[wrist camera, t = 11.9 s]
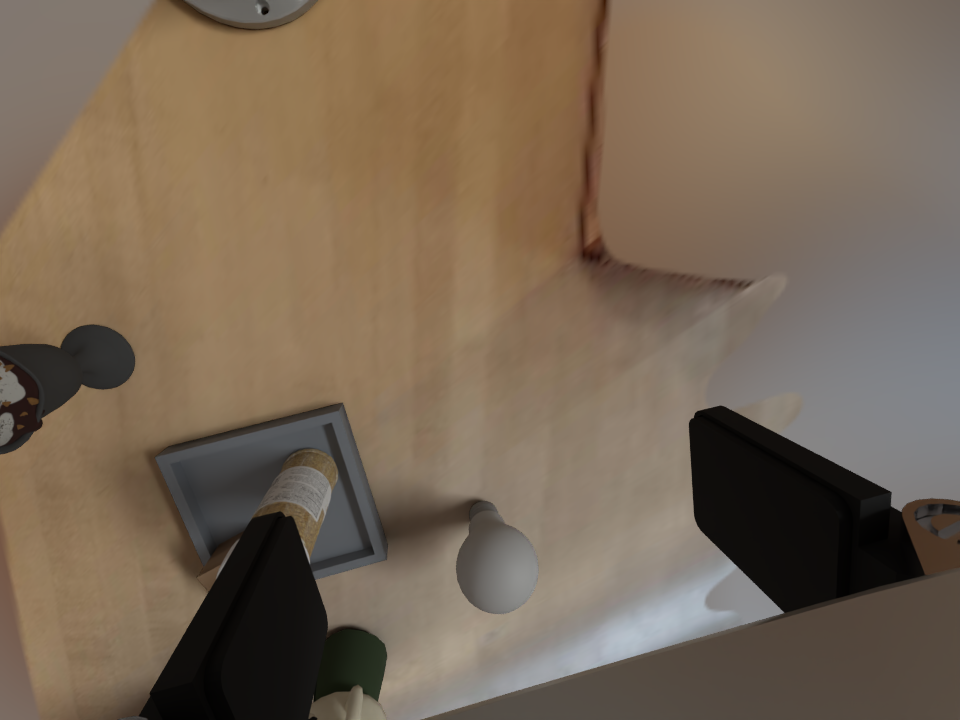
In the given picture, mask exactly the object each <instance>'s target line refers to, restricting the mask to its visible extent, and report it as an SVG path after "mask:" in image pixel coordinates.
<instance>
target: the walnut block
mask: <svg viewBox="0 0 960 720" xmlns="http://www.w3.org/2000/svg"><path fill="white" fill-rule="evenodd" d="M243 532H244V531H243ZM243 532H241V533H239V534H237V535H236V536H234V537H232V538H230V539H228V540H226V541H225V542H223V543H221V544H219V545H218V547H217V548H216V550H215V551H214V553H213V554H212V556H211V557H210V559H209V560H208V562H207V563H206V565H205V566H204V568H203V569H202V571H201V572H200V574H199V575H198V577H197V579H198V580H199V581H200V582H201V584H202V585H203V586H204V587H205V588H206V589H207V590H208V592H209V591H210V589H211V587H212V585H213V584H214V582H215V580H216V576H217V573H218V570H219V568H220V566H221V564H222V562H223V560H224V558H225V557H226V555H227V553H228V552H229V550H230V549H231V547H232V546H233V544H234V543H235V542H236V541H237V540H239V539H240V537H241V536H242V534H243Z"/></svg>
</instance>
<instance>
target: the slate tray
mask: <svg viewBox="0 0 960 720" xmlns="http://www.w3.org/2000/svg"><path fill="white" fill-rule="evenodd" d="M311 448H313V449H318V450H321V451H323V452H325V453H326V454H328V455H329V456H331V457H332V459H333V460H334V462H335V464H336V466H337V469H338V480H337V482H336V485H335V486H334V488H333V490H332V493H331V499H330V503H329V506H328V509H327V512H326V515H325V518H324V521H323V523H322V525H321V527H320V530H319V534H318V536H317V540H316V542H315V545H314V548H313V551H312V554H311V556H310V567H311V569H312V572H313V575H314V578H315V580H316V579H320V578H323V577H327V576H330V575H334V574H338V573H341V572H345V571H348V570H352V569H355V568H359V567H362V566H366V565H369V564H373V563H376V562H380V561H383V560H387V550H388V544H387V540H386V537H385V534H384V531H383V528H382V525H381V521H380V518H379V515H378V512H377V509H376V506H375V503H374V499H373V496H372V493H371V490H370V487H369V484H368V480H367V477H366V474H365V471H364V468H363V465H362V461H361V458H360V455H359V452H358V449H357V446H356V443H355V439H354V436H353V433H352V430H351V427H350V424H349V420H348V417H347V414H346V411H345V408H344V405H343V403H340V404H336V405H332V406H328V407H324V408H320V409H316V410H312V411H308V412H304V413H300V414H296V415H292V416H288V417H284V418H280V419H276V420H272V421H268V422H264V423H260V424H256V425H252V426H248V427H244V428H240V429H236V430H232V431H228V432H224V433H220V434H216V435H212V436H208V437H204V438H200V439H196V440H192V441H188V442H184V443H180V444H176V445H172V446H169V447H167V448H166V449H165V450H164V451H162V452H161V453H160V454H158V455H157V456H156V457H155V459H156V461H157V463H158V466H159V468H160V470H161V472H162V475H163V477H164V479H165V481H166V484H167V486H168V488H169V490H170V492H171V495H172V497H173V499H174V501H175V504H176V506H177V508H178V510H179V513H180V515H181V517H182V519H183V522H184V524H185V526H186V528H187V530H188V533H189V535H190V537H191V539H192V542H193V544H194V546H195V548H196V551H197V553H198V555H199V557H200V559H201V562H202V564H203V566H205V565H206V563H207V562H208V560H209V559H210V557H211V556H212V554H213V553H214V551H215V550H216V548H217V547H218V545H219V544H221V543H223V542H225V541H226V540H228V539H230V538H232V537H234V536H236V535H237V534H239V533H241V532H243V531H245V529H246V527H247V525H248V524H249V522H250V520H251V518H252V516H253V514H254V513H255V511H256V510H257V508H258V506H259V505H260V503H261V501H262V500H263V498H264V496H265V495H266V493H267V491H268V490H269V488H270V486H271V485H272V483H273V481H274V480H275V478H276V477H277V476H278V475H279V474H280V472H281V470H282V466H283V464H284V462H285V461H286V459H287V458H288V457H289V456H290V455H291V454H293V453H295V452H297V451H299V450H303V449H311Z"/></svg>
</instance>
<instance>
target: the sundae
mask: <svg viewBox="0 0 960 720" xmlns="http://www.w3.org/2000/svg"><path fill="white" fill-rule="evenodd" d="M134 366H135V357H134V353H133V350H132V348H131V346H130V344H129V343H128V342H127V341H126V339H125V338H124V337H123V336H122V335H120V334H119V333H117V332H116V331H114V330H112V329H110V328H108V327H104V326H99V325H86V326H81V327H78V328H76V329H74V330H73V331H71V332H70V333H69V334H68V335H67V336H66V337H65V339H64V341H63V343H62V345H61V349H60V348H58V347H55V346H52V345H47V344H20V345H10V346H0V454H5V453H9V452H12V451H14V450H16V449H18V448H19V447H21V446H22V445H23V444H24V443H25V442H27V441H28V440H29V438H30V437H31V435H32V434H33V432H34V431H37V430H38V429H40V428H41V427H42V424H43V422H42V420H41V418H43V417H44V416H46V415H48V414H49V413H51V412H52V411H54V410H56V409H57V408H59V407H60V406H62V405H63V404H64V403H65V402H67V401H68V400H69V399H70V398H71V397H73V396H74V395H75V394H76V393H77V392H78V390H79V388H80V386H81V384H83V385H85V386H87V387H91V388H95V389H111V388H115V387H118V386H120V385H121V384H123V383H124V382H126V381H127V380H128V379H129V377H130V376H131V374H132V372H133V371H134Z"/></svg>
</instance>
